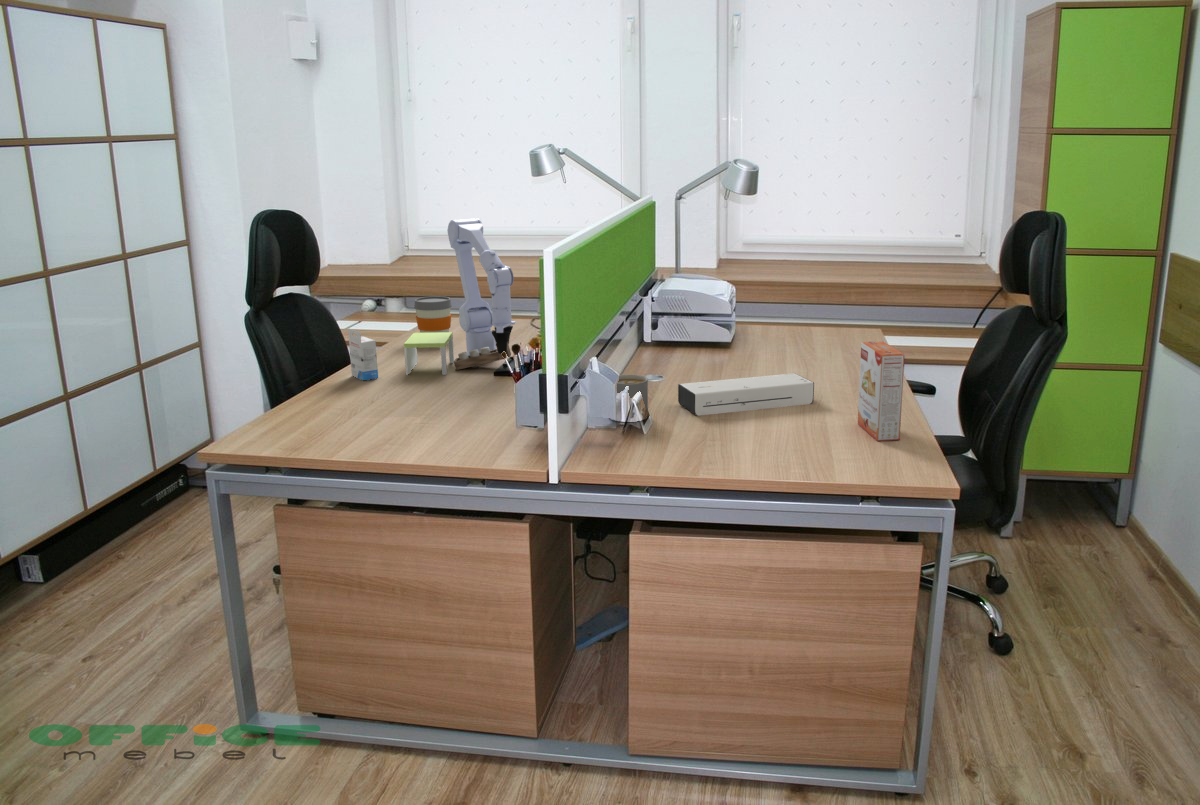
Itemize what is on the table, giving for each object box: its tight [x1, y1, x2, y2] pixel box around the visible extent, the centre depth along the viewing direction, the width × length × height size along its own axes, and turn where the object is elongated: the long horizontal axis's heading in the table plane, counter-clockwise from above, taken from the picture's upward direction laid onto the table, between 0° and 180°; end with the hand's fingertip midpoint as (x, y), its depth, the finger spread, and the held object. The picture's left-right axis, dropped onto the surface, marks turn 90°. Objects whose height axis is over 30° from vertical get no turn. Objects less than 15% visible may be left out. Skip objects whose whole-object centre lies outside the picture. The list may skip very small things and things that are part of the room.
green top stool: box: [403, 331, 455, 376], centre depth 311 cm, size 12×16×10 cm
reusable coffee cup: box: [414, 295, 452, 333], centre depth 348 cm, size 13×13×15 cm
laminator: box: [677, 372, 815, 417], centre depth 268 cm, size 34×12×6 cm, turn 107°
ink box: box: [348, 328, 379, 381], centre depth 301 cm, size 8×5×15 cm, turn 39°
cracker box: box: [857, 341, 906, 442], centre depth 240 cm, size 14×6×21 cm, turn 5°
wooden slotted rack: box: [453, 342, 512, 371], centre depth 311 cm, size 17×5×5 cm, turn 88°
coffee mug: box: [617, 374, 649, 412], centre depth 256 cm, size 13×10×10 cm
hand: (503, 351), depth 311 cm, fingers closed on wooden slotted rack, 5 cm apart
